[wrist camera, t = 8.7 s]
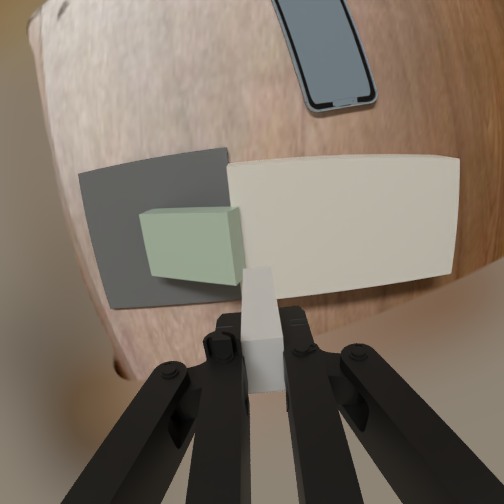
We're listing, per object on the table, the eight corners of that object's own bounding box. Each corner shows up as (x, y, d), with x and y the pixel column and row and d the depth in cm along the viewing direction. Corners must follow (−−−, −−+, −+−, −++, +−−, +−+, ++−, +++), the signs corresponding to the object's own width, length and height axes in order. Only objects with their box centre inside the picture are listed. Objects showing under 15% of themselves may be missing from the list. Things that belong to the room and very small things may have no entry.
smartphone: (333, -26, 20) (380, 101, 25) (331, -22, 21) (376, 102, 26) (263, -20, 21) (309, 113, 26) (262, -16, 22) (306, 114, 26)
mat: (226, 147, 27) (226, 147, 27) (243, 296, 32) (243, 298, 32) (80, 173, 27) (78, 174, 27) (111, 306, 32) (110, 308, 32)
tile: (238, 206, 25) (227, 212, 23) (246, 275, 27) (236, 285, 25) (152, 208, 28) (138, 214, 26) (164, 267, 30) (151, 275, 29)
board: (437, 155, 28) (459, 158, 24) (432, 259, 32) (450, 273, 28) (228, 163, 28) (226, 166, 24) (242, 283, 32) (242, 302, 28)
